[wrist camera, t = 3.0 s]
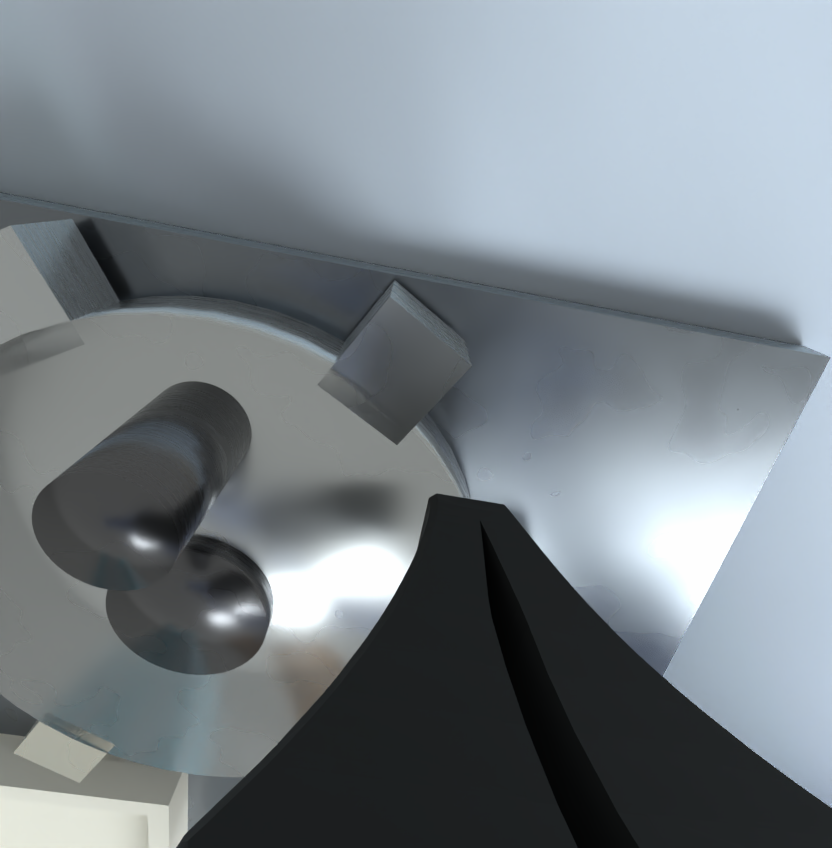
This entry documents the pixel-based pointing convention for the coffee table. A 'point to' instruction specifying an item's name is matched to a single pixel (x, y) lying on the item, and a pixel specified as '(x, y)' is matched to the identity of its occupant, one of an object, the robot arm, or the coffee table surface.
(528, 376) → the plate
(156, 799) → the white shallow tray
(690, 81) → the coffee table surface
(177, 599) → the sprocket
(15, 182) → the coffee table surface
